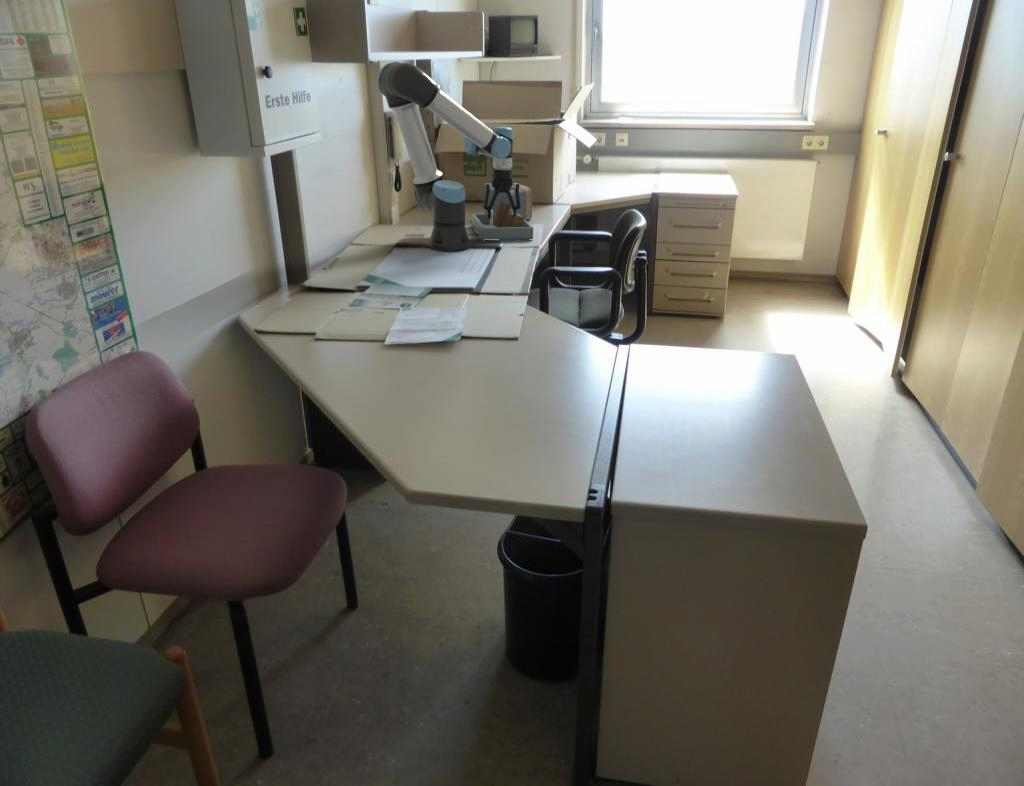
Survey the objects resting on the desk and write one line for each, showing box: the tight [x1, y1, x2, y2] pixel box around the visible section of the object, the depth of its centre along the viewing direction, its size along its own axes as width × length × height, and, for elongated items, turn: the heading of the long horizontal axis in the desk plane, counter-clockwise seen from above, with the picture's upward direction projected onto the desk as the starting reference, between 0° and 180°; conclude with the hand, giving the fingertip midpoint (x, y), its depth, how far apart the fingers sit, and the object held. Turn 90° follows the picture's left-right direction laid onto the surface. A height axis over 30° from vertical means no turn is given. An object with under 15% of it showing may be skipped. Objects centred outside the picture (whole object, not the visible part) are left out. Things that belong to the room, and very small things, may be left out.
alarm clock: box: [483, 183, 533, 221], centre depth 320 cm, size 16×16×16 cm
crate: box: [471, 213, 534, 242], centre depth 297 cm, size 20×28×5 cm
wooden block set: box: [493, 200, 525, 228], centre depth 296 cm, size 18×9×10 cm, turn 26°
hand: (501, 226), depth 297 cm, fingers closed on wooden block set, 8 cm apart
